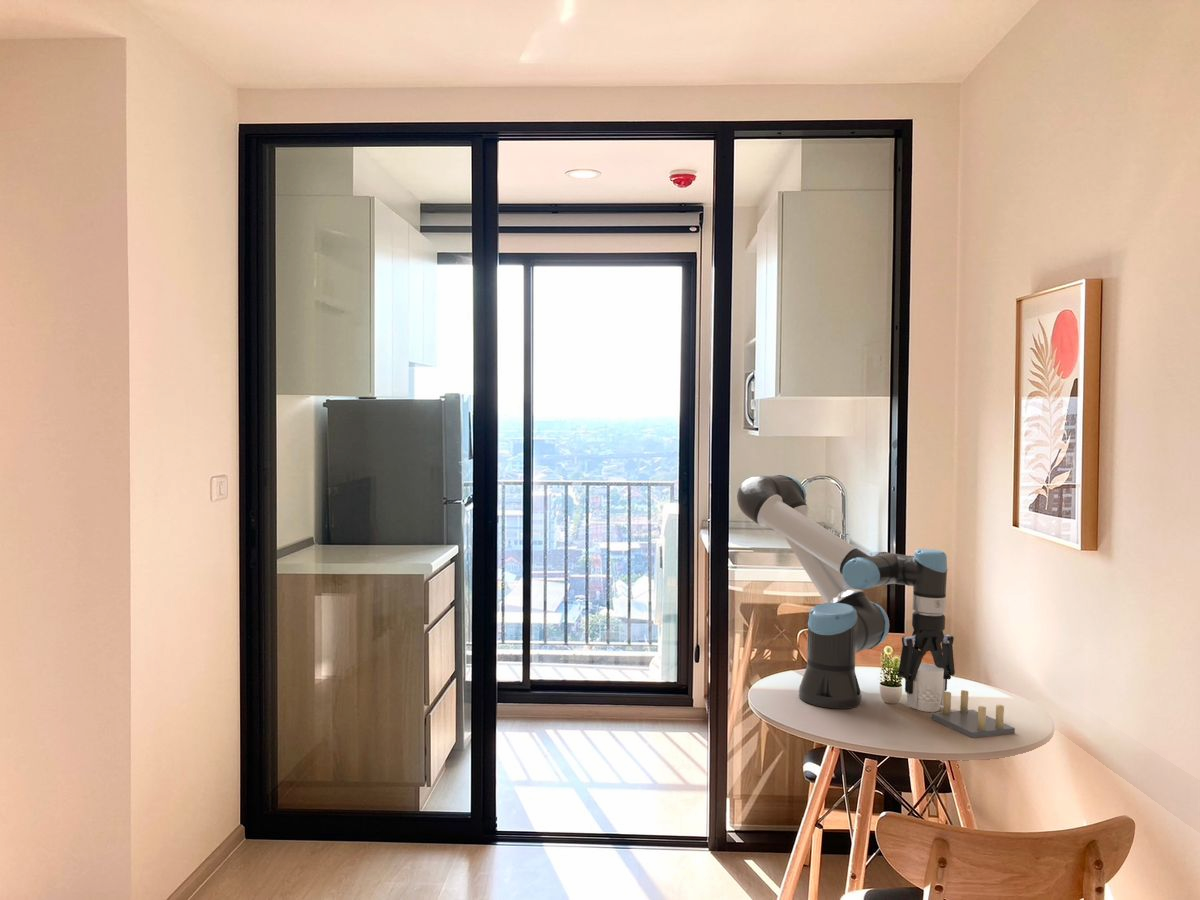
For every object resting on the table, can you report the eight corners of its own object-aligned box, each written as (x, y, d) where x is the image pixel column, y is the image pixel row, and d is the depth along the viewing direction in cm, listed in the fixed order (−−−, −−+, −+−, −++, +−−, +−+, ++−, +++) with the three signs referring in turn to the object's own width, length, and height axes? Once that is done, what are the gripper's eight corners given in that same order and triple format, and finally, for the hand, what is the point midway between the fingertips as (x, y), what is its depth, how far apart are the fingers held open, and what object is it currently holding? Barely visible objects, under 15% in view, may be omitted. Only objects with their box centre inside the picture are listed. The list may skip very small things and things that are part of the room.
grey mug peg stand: (971, 737, 184) (972, 710, 184) (931, 718, 197) (932, 692, 197) (1014, 733, 188) (1015, 706, 188) (972, 714, 200) (973, 689, 200)
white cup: (947, 713, 200) (949, 672, 200) (915, 712, 201) (916, 671, 200) (935, 703, 208) (936, 663, 208) (903, 702, 209) (905, 662, 208)
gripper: (904, 617, 197) (900, 713, 198) (973, 614, 204) (970, 706, 204) (884, 611, 205) (880, 703, 205) (951, 608, 211) (948, 697, 211)
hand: (925, 705), depth 204 cm, fingers closed on white cup, 8 cm apart
